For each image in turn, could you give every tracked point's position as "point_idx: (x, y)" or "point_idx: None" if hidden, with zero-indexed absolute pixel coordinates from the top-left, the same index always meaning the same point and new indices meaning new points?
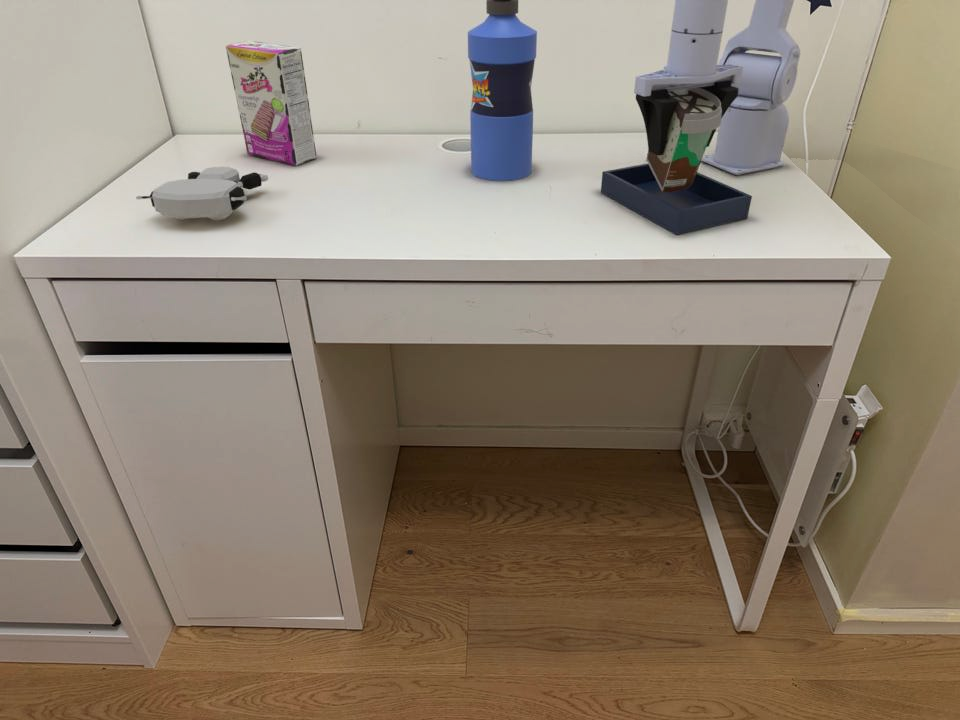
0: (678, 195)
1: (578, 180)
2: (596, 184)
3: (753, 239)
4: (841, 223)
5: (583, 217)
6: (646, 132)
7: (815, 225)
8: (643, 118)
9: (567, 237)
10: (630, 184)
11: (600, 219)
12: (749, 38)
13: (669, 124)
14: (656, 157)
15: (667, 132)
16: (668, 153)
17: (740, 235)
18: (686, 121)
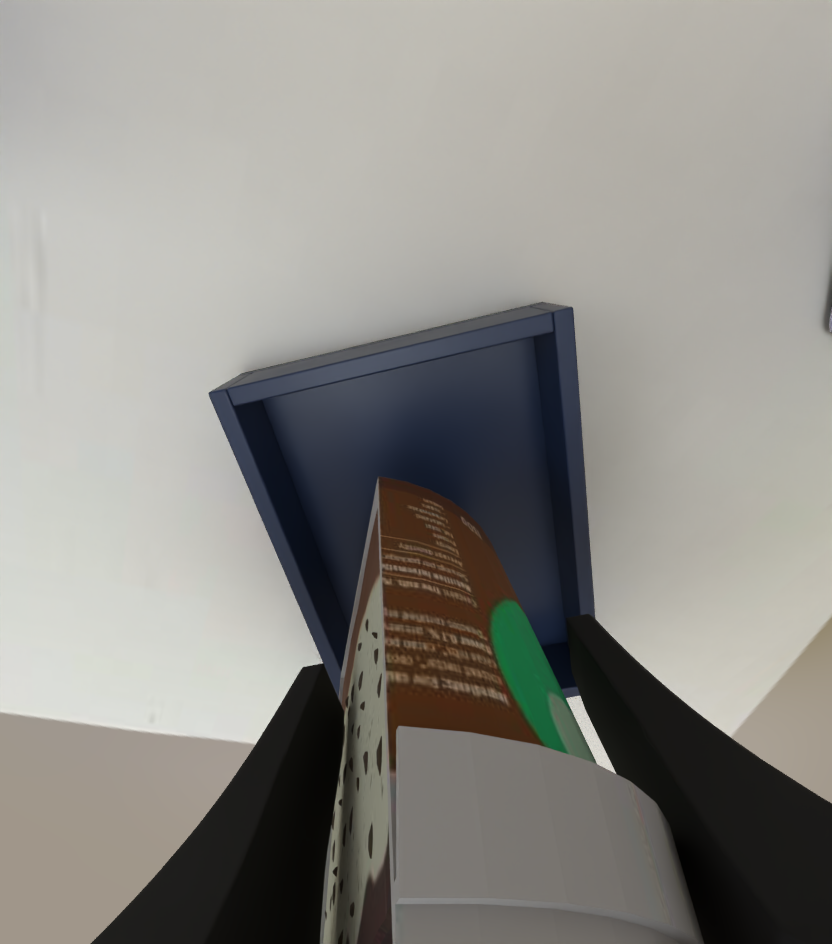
0: (482, 495)
1: (175, 194)
2: (246, 272)
3: None
4: (754, 693)
5: (148, 549)
6: (258, 740)
7: (692, 691)
8: (198, 827)
9: (92, 644)
10: (283, 549)
11: (196, 570)
12: None
13: (320, 899)
14: (360, 619)
15: (326, 841)
16: (339, 774)
17: None
18: None
